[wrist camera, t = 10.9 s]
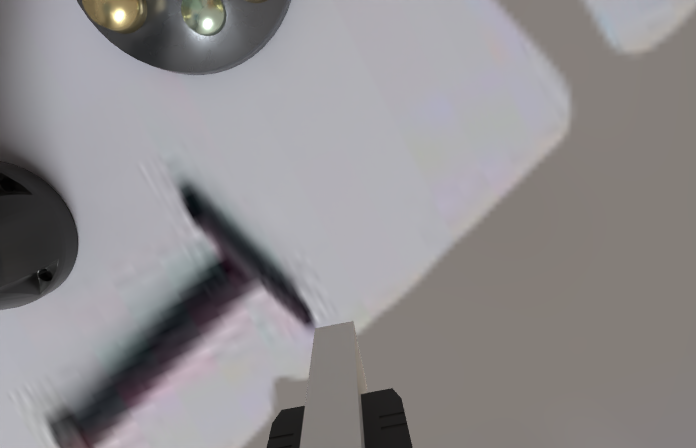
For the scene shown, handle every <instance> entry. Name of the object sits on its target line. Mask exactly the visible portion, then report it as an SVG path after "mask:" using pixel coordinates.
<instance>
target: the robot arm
mask: <svg viewBox="0 0 696 448" xmlns="http://www.w3.org/2000/svg"><path fill="white" fill-rule="evenodd" d="M77 248H78V240H77V233H76V228H75V224H74V221H73V219H72V216H71V214H70V212H69V210H68V208H67V207H66V205H65V203H64V202H63V201H62V199H61V198H60V197H59V195H58V194H57V193H56V192H55V191H54V190H53V189H52V188H51V187H50V186H49V185H48V184H47V183H46V182H44V181H43V180H42V179H40V178H39V177H37V176H36V175H34V174H33V173H31V172H29V171H27V170H25V169H23V168H20V167H18V166H15V165H12V164H8V163H4V162H0V310H4V309H10V308H16V307H20V306H23V305H26V304H29V303H31V302H34V301H36V300H37V299H39V298H41V297H43V296H45V295H47V294H48V293H50V292H52V291H53V290H55V289H56V288H58V287H59V286H60V285H61V284H62V283H63V282H64V281H65V280H66V278H67V277H68V276H69V274H70V272H71V271H72V269H73V266H74V264H75V260H76V256H77ZM267 448H412V444H411V439H410V435H409V430H408V426H407V421H406V417H405V413H404V408H403V404H402V399H401V398H400V396H399V395H398V394H397V393H396V392H395V391H394V390H393V389H392V388H391V389H386V390H381V391H375V392H371V393H367V383H366V378H365V374H364V369H363V364H362V360H361V355H360V350H359V346H358V341H357V336H356V332H355V327H354V322H353V321H352V322H346V323H341V324H336V325H331V326H326V327H320V328H315V333H314V341H313V349H312V356H311V364H310V372H309V379H308V387H307V396H306V402H305V406H301V407H295V408H290V409H285V410H281V412H280V413H279V415H278V416H277V417H276V419H275V420H274V422H273V423H272V427H271V431H270V435H269V441H268V444H267Z"/></svg>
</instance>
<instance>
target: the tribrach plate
mask: <svg viewBox="0 0 696 448" xmlns="http://www.w3.org/2000/svg"><path fill="white" fill-rule="evenodd" d="M77 2H78V4H79V5H80V7H81V8H82V10H83V11H84V12H85V14H86V15H87V17H88V18H89V20H90V21H91V22H92V23H93V24H94V25H95V27H96V28H97V29H98V30H99V31H100V32H101V33H102V34H103V35H104V36H105V37H106V38H107V39H108V40H109V41H110V42H111V43H113V44H114V45H116V46H117V47H118V48H120V49H121V50H122V51H124V52H125V53H127V54H129V55H130V56H132V57H134V58H136V59H137V60H140V61H142V62H144V63H147V64H149V65H151V66H154V67H157V68H160V69H163V70H167V71H171V72H174V73H180V74H187V75H205V74H212V73H218V72H221V71H225V70H228V69H231V68H233V67H235V66H237V65H240V64H242V63H243V62H245V61H246V60H248V59H250V58H251V57H253V56H254V55H255V54H256V53H257V52H259V51H260V50H261V49H262V48H263V47H264V46H265V45H266V44H267V43H268V42H269V40H270V39H271V38H272V37H273V36H274V34H275V33H276V31H277V30H278V28H279V27H280V25H281V23H282V21H283V19H284V17H285V15H286V13H287V11H288V8H289V5H290V2H291V0H267V1H265V2H262V3H250V2H247V1H245V0H77Z"/></svg>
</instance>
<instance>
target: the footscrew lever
mask: <svg viewBox="0 0 696 448" xmlns="http://www.w3.org/2000/svg"><path fill="white" fill-rule="evenodd" d="M245 1H247V2H250V3H262V2H265V1H267V0H245Z"/></svg>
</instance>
